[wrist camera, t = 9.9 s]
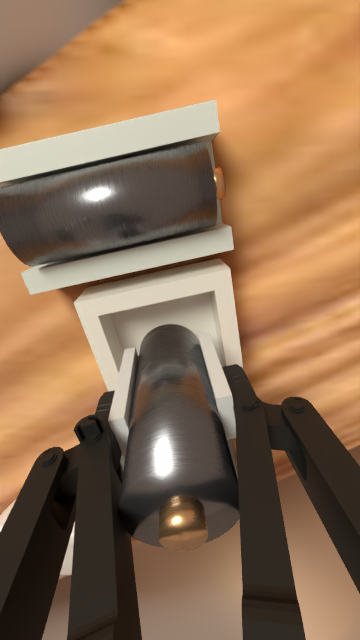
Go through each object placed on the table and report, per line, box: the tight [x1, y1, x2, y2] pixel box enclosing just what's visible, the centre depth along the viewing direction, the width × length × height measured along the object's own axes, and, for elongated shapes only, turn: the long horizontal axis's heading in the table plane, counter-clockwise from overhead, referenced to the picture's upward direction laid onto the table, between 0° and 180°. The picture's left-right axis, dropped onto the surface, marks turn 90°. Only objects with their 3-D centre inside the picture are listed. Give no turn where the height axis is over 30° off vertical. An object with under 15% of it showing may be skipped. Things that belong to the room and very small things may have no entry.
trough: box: [0, 100, 234, 295], centre depth 17 cm, size 13×8×3 cm, turn 102°
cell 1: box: [0, 141, 225, 267], centre depth 16 cm, size 12×4×4 cm, turn 102°
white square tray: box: [74, 258, 243, 392], centre depth 21 cm, size 10×10×4 cm
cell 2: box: [118, 324, 240, 551], centre depth 14 cm, size 4×4×12 cm
